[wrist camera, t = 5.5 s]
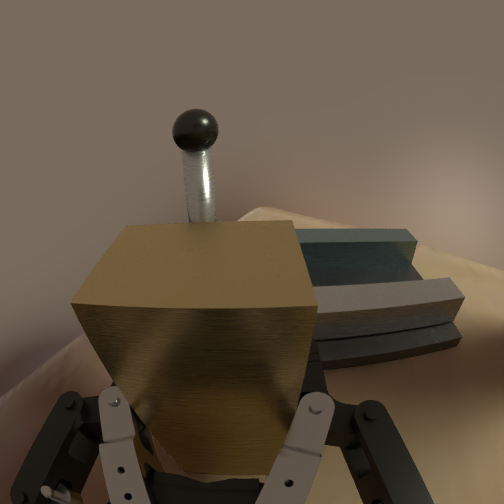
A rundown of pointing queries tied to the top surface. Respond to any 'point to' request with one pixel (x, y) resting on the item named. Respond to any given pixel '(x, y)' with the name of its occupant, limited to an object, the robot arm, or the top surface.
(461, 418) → the top surface
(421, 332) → the vise
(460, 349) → the top surface
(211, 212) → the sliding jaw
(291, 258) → the block
